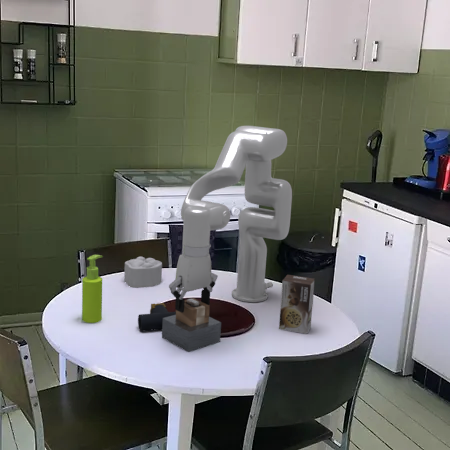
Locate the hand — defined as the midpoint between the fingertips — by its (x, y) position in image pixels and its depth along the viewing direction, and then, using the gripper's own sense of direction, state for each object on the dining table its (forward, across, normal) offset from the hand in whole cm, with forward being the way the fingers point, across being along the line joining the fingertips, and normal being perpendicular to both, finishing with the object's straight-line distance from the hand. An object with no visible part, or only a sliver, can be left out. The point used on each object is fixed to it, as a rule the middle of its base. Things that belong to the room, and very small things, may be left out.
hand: (192, 307), depth 188 cm
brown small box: (+4, 0, 0) cm, 4 cm away
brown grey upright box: (+10, -32, +12) cm, 36 cm away
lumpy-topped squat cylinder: (+10, -18, -48) cm, 52 cm away
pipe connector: (+10, 0, -14) cm, 18 cm away
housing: (+10, 0, 0) cm, 10 cm away
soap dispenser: (+10, +15, -29) cm, 34 cm away
